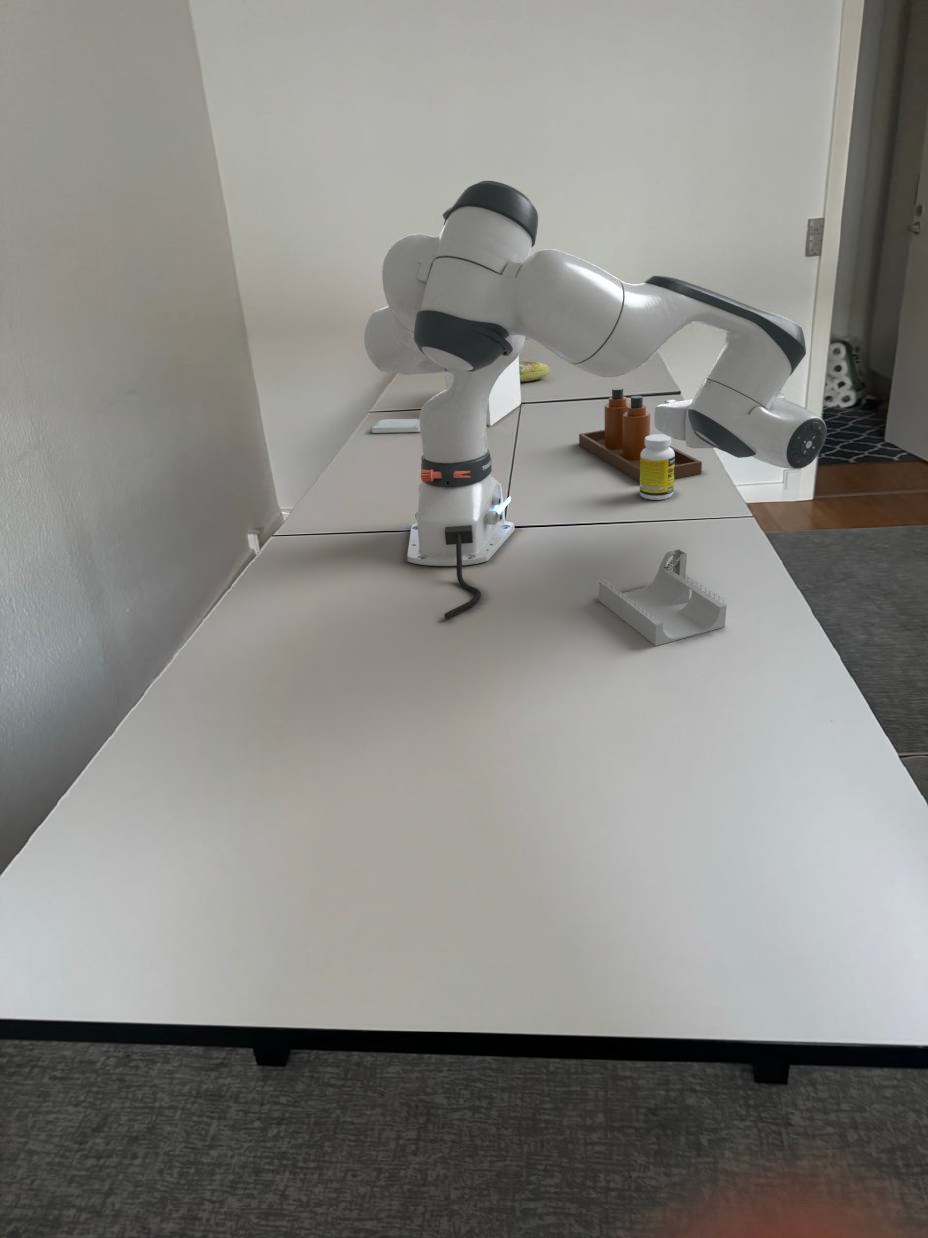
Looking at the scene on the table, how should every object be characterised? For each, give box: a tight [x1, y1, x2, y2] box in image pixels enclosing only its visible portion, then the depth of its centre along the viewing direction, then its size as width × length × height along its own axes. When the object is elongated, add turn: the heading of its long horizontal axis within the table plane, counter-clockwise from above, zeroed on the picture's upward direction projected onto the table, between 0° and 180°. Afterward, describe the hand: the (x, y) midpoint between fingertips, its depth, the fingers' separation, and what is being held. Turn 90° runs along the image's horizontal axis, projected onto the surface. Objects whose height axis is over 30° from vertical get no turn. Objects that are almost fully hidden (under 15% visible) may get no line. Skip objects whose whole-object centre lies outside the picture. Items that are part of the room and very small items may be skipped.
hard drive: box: [371, 418, 421, 434], centre depth 216 cm, size 2×8×12 cm
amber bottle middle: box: [623, 395, 651, 460], centre depth 175 cm, size 6×6×12 cm
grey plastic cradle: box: [598, 549, 727, 647], centre depth 115 cm, size 15×13×5 cm
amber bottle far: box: [603, 386, 631, 449], centre depth 182 cm, size 6×6×12 cm
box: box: [444, 355, 522, 427], centre depth 225 cm, size 20×40×14 cm, turn 3°
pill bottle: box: [639, 433, 675, 501], centre depth 155 cm, size 6×6×11 cm
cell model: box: [519, 360, 551, 383], centre depth 253 cm, size 11×8×15 cm
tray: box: [578, 429, 703, 483], centre depth 177 cm, size 32×13×2 cm, turn 16°
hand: (694, 400), depth 137 cm, fingers open, 8 cm apart
